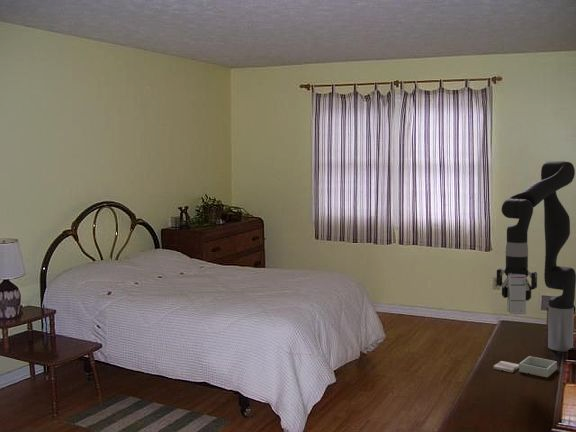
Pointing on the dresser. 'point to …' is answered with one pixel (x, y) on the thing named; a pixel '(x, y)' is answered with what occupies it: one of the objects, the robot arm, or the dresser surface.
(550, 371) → the bin
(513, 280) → the syrup box
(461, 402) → the dresser surface
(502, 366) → the pad
